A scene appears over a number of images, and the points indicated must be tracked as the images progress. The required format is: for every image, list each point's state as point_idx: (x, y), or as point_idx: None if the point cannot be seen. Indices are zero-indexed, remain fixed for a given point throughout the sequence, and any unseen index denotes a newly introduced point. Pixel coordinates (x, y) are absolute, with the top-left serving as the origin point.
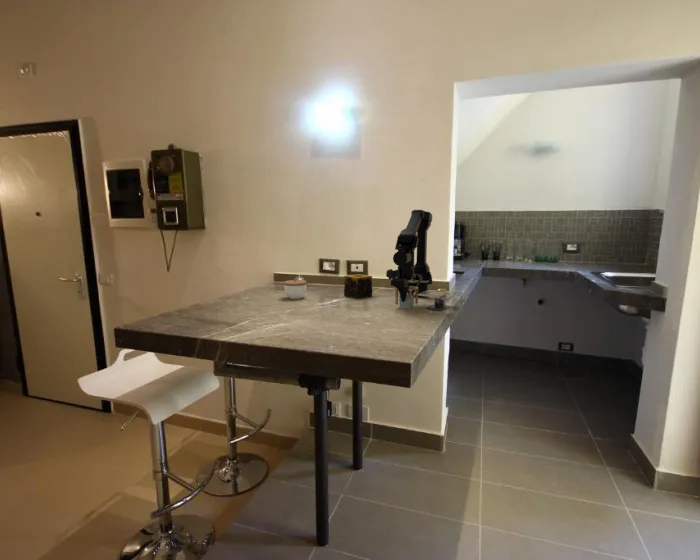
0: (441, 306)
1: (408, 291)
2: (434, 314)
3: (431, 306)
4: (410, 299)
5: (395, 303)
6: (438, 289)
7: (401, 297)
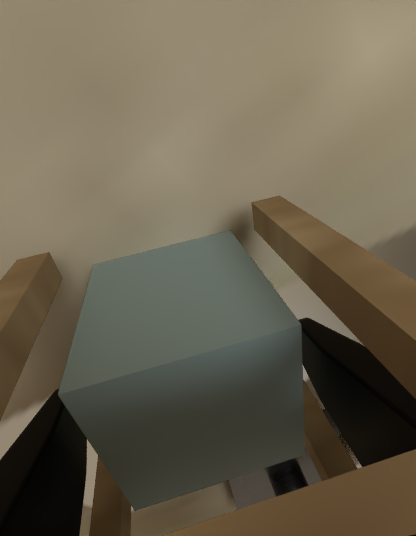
0: (310, 482)
1: (379, 412)
2: (136, 528)
3: None
4: (100, 515)
5: (10, 271)
6: None
7: (9, 467)
